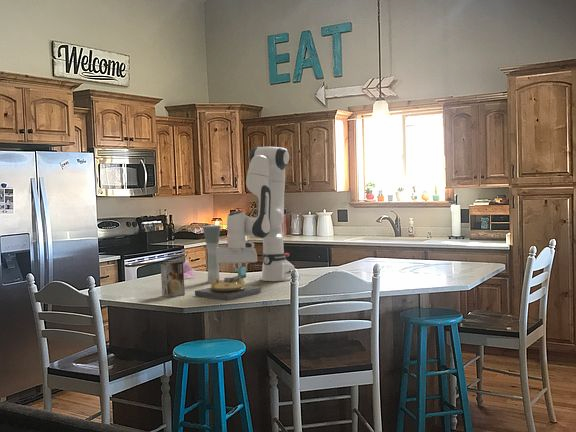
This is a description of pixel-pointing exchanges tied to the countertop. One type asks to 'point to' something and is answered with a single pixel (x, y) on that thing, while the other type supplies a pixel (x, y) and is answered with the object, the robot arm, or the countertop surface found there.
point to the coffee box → (172, 279)
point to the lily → (187, 270)
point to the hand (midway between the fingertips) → (237, 272)
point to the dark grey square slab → (227, 293)
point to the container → (212, 250)
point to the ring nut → (230, 282)
